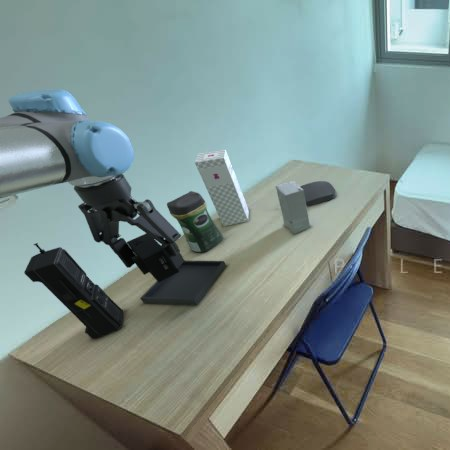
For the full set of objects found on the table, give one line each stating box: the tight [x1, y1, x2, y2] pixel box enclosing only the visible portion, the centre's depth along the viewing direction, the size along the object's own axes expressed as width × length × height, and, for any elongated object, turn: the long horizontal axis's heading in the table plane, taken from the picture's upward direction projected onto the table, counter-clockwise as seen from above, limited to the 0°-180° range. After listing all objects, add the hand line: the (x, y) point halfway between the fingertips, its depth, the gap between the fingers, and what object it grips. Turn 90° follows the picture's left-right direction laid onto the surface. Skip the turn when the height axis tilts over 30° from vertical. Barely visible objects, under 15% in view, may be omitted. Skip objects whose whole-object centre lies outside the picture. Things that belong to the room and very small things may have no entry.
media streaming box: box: [299, 180, 337, 206], centre depth 128 cm, size 15×15×3 cm
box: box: [194, 148, 250, 227], centre depth 109 cm, size 8×8×25 cm
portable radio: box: [24, 242, 124, 340], centre depth 70 cm, size 8×6×25 cm
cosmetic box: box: [275, 180, 311, 235], centre depth 106 cm, size 8×7×16 cm
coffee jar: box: [166, 190, 223, 253], centre depth 98 cm, size 10×8×19 cm
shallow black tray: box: [139, 259, 227, 306], centre depth 88 cm, size 15×15×2 cm
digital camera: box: [126, 233, 179, 282], centre depth 70 cm, size 10×5×7 cm, turn 52°
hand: (156, 264), depth 71 cm, fingers closed on digital camera, 11 cm apart
